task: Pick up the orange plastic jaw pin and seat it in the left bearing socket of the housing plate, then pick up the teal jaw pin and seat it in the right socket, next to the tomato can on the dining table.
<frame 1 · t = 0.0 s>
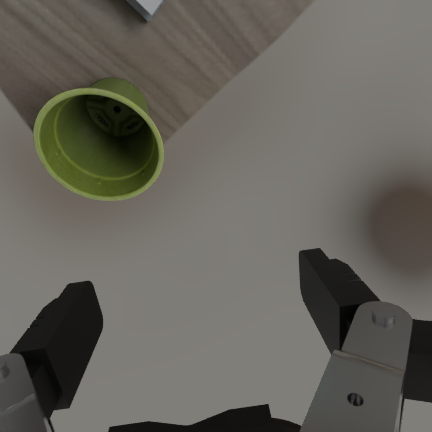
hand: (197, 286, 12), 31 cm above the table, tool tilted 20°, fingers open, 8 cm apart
plant pot: (117, 105, 39), on the table
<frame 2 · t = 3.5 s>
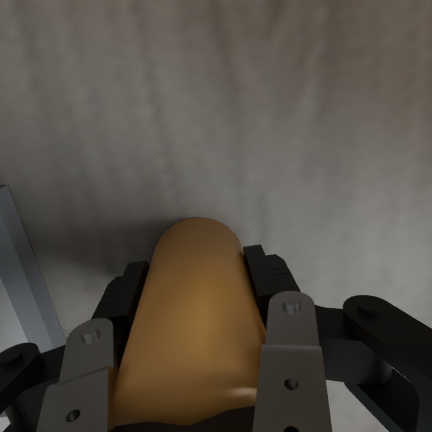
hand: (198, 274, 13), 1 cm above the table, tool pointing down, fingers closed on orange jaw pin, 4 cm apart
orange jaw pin: (198, 259, 14), on the table, touching gripper
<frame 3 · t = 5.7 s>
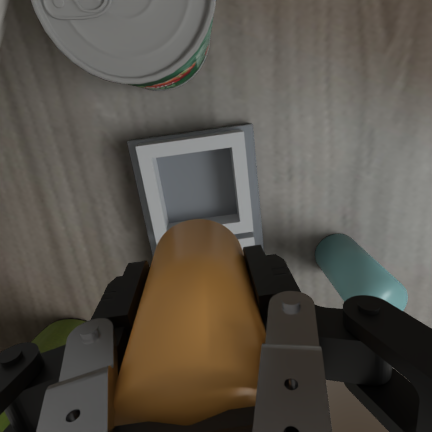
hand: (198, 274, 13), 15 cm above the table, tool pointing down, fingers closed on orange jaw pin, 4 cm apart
canned tomato: (157, 34, 24), on the table
housing: (205, 227, 29), on the table
teal jaw pin: (335, 252, 30), on the table
plant pot: (76, 343, 33), on the table
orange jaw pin: (198, 260, 14), point 14 cm above the table, touching gripper
when the fingers open (4 cm above the table, at t = 8.2 s): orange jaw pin drops 1 cm, resting on housing.
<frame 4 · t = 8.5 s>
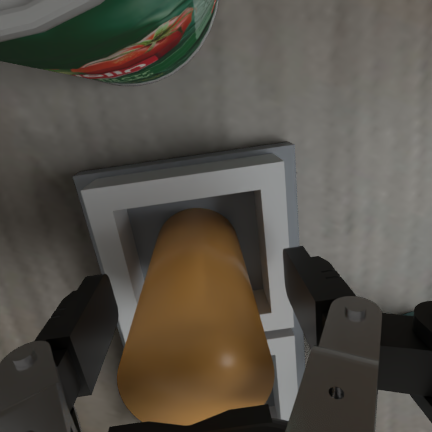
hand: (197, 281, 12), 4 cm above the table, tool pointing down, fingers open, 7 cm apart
housing: (209, 305, 18), on the table
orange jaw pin: (197, 246, 16), point 1 cm above the table, touching housing
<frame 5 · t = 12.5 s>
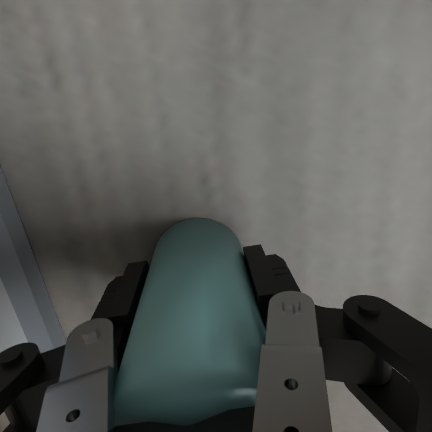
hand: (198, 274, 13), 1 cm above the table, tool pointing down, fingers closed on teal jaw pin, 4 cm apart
teal jaw pin: (198, 259, 14), on the table, touching gripper
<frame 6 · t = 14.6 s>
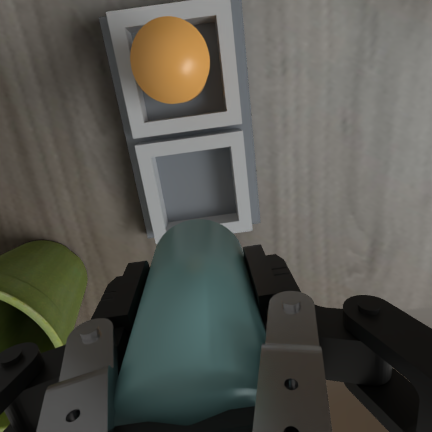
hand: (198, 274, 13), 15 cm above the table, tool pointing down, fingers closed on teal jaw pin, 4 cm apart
housing: (189, 131, 26), on the table
teal jaw pin: (199, 260, 14), point 14 cm above the table, touching gripper
plant pot: (50, 271, 30), on the table
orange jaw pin: (179, 74, 23), point 1 cm above the table, touching housing
when the fingers open (4 cm above the table, at t = 17.1 s): teal jaw pin drops 1 cm, resting on housing.
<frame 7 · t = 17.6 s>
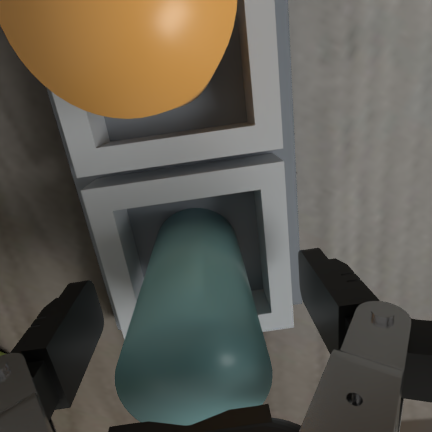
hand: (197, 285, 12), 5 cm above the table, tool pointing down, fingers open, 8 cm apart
housing: (184, 156, 15), on the table
teal jaw pin: (196, 246, 16), point 1 cm above the table, touching housing
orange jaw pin: (165, 55, 13), point 1 cm above the table, touching housing
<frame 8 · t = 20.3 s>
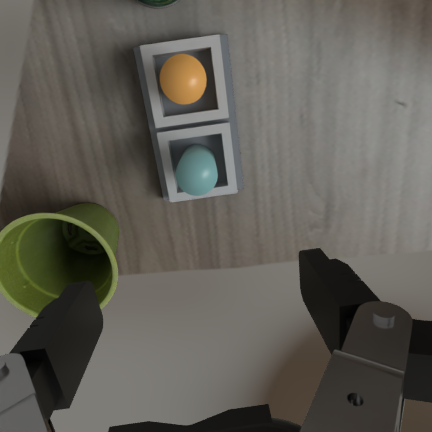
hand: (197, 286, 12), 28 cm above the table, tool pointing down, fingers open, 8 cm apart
housing: (193, 123, 37), on the table
teal jaw pin: (198, 161, 38), point 1 cm above the table, touching housing
plant pot: (92, 227, 41), on the table
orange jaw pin: (186, 84, 35), point 1 cm above the table, touching housing
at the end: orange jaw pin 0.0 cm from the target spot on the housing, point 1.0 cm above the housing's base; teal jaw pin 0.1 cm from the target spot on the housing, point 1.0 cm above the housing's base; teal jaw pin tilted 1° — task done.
